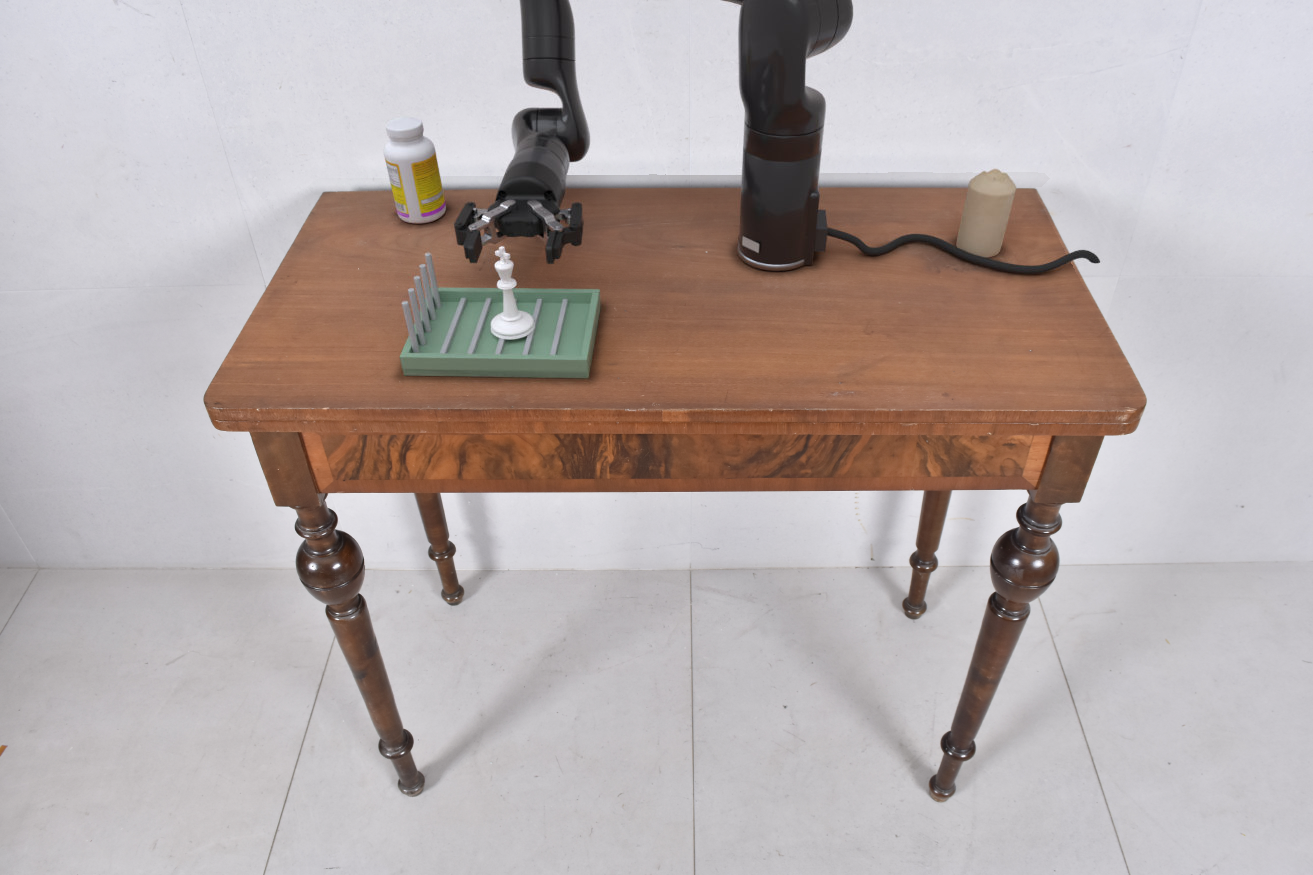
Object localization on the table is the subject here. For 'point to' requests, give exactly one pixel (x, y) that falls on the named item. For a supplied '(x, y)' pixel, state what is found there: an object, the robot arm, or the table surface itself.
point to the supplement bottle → (413, 171)
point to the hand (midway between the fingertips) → (510, 256)
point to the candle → (986, 213)
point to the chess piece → (509, 304)
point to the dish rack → (465, 346)
